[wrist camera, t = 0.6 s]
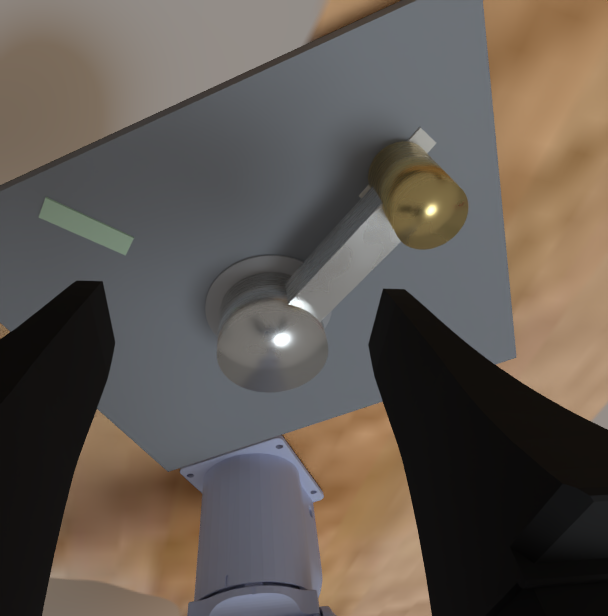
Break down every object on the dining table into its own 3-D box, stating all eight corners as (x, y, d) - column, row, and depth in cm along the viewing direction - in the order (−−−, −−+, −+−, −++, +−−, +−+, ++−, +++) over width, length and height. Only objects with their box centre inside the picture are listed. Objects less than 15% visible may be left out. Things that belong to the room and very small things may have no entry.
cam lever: (279, 362, 24) (285, 421, 21) (200, 323, 22) (193, 383, 19) (459, 183, 19) (503, 227, 16) (378, 107, 16) (410, 140, 13)
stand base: (507, 344, 28) (517, 359, 27) (170, 456, 31) (167, 474, 30) (465, -30, 16) (482, -29, 14) (-81, 222, 19) (-101, 238, 18)
